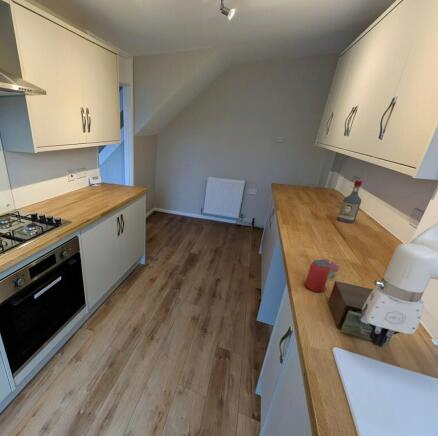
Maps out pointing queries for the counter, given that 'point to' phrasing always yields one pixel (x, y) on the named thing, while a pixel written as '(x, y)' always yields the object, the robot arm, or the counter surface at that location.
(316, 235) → the counter surface
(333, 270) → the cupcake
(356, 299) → the cabinet
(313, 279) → the beer can
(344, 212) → the liquor
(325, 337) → the counter surface
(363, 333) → the drawer
